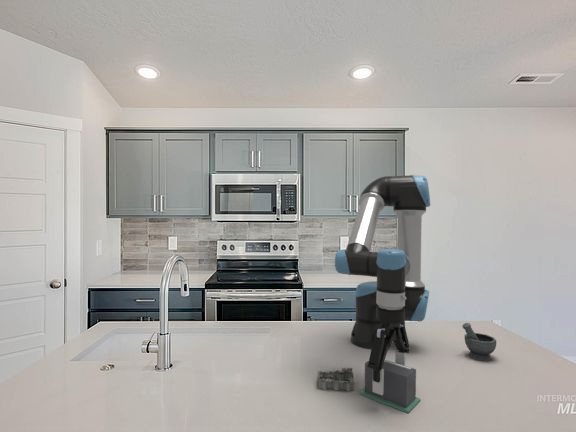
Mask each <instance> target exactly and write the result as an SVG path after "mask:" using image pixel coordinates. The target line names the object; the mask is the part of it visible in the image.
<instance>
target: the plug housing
mask: <svg viewBox="0 0 576 432" xmlns="http://www.w3.org/2000/svg"><path fill="white" fill-rule="evenodd" d="M368 362H369V360H368V361H366V362H365V363H364V388H365V392H366V393H369V394H372V395H374V396H377V397H379V398H382V399H384V400H387V401H390V402H392V403H395V404H397V405H400V406H402V407H405V408H407V407H408V406H409V405H410V404H411V403H412V402H413V401H414V400H415V399H416V397H417V396H416V394H417V393H416V392H417V384H416V383H417V369H415V368H413V367H410V366H407V365H405V366H404V365H401V364H397V363H395V362H394V361H390V360H387V359H385V360H384V363H383V366H382V369H384V388H383V395H380V394H377V393H375V392H372V391H373V369H372V368H369V367H368Z"/></svg>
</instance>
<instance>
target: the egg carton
mask: <svg viewBox="0 0 576 432" xmlns="http://www.w3.org/2000/svg"><path fill="white" fill-rule="evenodd" d="M317 378H318V380H317V382H318V384H317V386H318V387H317V388H319V389H321V390H323V391H326V390H327V389H333V390H334V391H339V390H345V391H346V392H351V391H352V390H354V389H355V377H354V370H353V368H352V367H350V368H349V367H344V368H341V370H339V369H336V370H325V371H323V370H318V371H317Z"/></svg>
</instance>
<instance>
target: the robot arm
mask: <svg viewBox="0 0 576 432" xmlns="http://www.w3.org/2000/svg"><path fill="white" fill-rule="evenodd" d="M429 189H430V188H429V182H428V179H427V177H426V176H424V175H418V174H417V175H416V174H411V175H410V174H409V175H392V176H389V175H387V176H381V177H378V178H376V179H375V180H373V181H371V183H369V184H368V185H367V186H365V188H364V189H363V190H362V192H361V194H360V195H359V198H358V206H359V208H358V211H357V214H356V218H355V220H354V223H353V227H352V230H351V233H350V236H349V239H348V242H347V244H346V248H345V249H342V250H341V249H340V250H338V251H337V252H336V253H335V257H334V268H335V271H336V272H337V273H338V274H341V275H342V274H343V275H348V276H362V277H372V278H373V277H374V278H376V280H375V281H373V280H371V281H365V282H362V283H359V284H357V285H356V291H355V322H354V325H353V328H352V330H351V334H350V342H351V343H352V344H354V345H355V346H358V347H361V348H363V349H364V348H365V349H371V351H370V354H369V359H368V361H369V362H368V361H367V362H368V367H369V368H372V369H373V391H372V392H375V393H377V394H380V395H383V388H384V369H382V366H383V363H384V360H386V356H387V353H388V350H389V348H390V346H392V343H393V344H394V346H395V348H396V351H395V356H394V358H395V359H394V361H395V362H394V363H397V364H401V365H404V366H406V353H407V354H409V353H410V349H409V348H410V343H409V337H408V335H407V330H406V323H405V322H406V321H409V322H422V321H424V320H425V318H426V314H427V307H428V303H429V297H430V291H429V290H427V289H426V288H425V287H426V285H425V283H424V282H423V281H422V280H421V279H422V277H421V276H422V275H421V274H422V273H421V272H422V221H423V220H422V217H423V215H424V214H425V213H427V208H429V207H430V206H431V196H430V190H429ZM385 207H393V212H394V213H395V214H396V217H397V224H396V225H397V227H396V228H397V229H396V232H397V233H396V235H397V236H396V237H397V238H396V240H397V241H396V248H394V249H393V248H382V249H379V250H378V251H371V248H372V243H373V240H374V236H375V232H376V229H377V224H378V221H379V217H380V213H381V212H382V211H383V210H384V208H385Z"/></svg>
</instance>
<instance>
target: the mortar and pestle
mask: <svg viewBox="0 0 576 432" xmlns="http://www.w3.org/2000/svg"><path fill="white" fill-rule="evenodd" d="M461 327H462V329H464V331H465V333H466V334H464V342H465V345H466V347H467V348H468V350H469V351H470V352H469V355H470V357H471V358H472V359H475V360H479V361H489V360H490V359H491V354H492V353H493V352H495V350H496V347H497V339H496V338H495V337H494V336H491V335H488V334H485V333H478V332H475V331H474V330H473V328H472V325H471V323H470V322H465V323H463V324H462V326H461Z"/></svg>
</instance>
